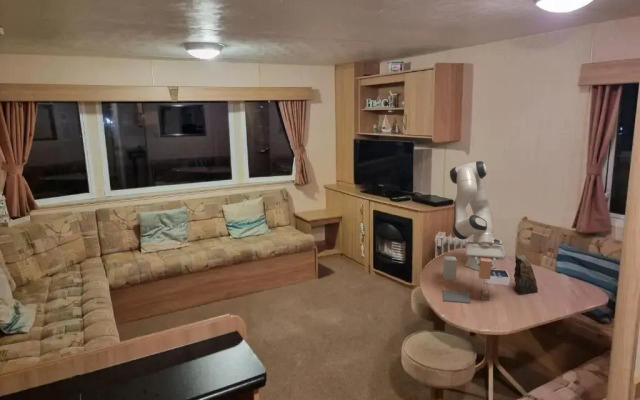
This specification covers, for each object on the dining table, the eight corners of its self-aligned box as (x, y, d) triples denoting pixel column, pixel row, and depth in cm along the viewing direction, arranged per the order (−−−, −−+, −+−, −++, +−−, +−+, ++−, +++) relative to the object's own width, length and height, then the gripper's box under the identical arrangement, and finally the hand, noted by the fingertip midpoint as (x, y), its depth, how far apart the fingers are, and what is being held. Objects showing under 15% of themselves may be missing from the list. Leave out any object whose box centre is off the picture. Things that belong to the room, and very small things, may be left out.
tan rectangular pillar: (478, 274, 238) (480, 257, 236) (489, 275, 236) (490, 258, 234) (479, 278, 233) (481, 260, 231) (490, 279, 231) (491, 261, 229)
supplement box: (456, 280, 264) (457, 260, 261) (443, 279, 265) (444, 260, 263) (455, 275, 271) (455, 256, 268) (442, 275, 273) (443, 256, 270)
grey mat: (443, 290, 250) (443, 289, 249) (468, 292, 246) (468, 291, 246) (443, 301, 236) (443, 300, 236) (470, 303, 233) (470, 302, 233)
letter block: (480, 297, 240) (480, 290, 239) (488, 298, 239) (488, 291, 238) (481, 300, 236) (481, 293, 235) (489, 301, 235) (489, 294, 234)
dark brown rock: (519, 295, 240) (522, 261, 236) (504, 286, 252) (506, 254, 248) (538, 292, 243) (541, 259, 239) (523, 284, 255) (525, 251, 251)
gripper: (465, 238, 241) (465, 261, 234) (505, 241, 235) (506, 264, 228) (464, 244, 246) (464, 266, 239) (503, 246, 240) (504, 269, 233)
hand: (485, 265), depth 234 cm, fingers closed on tan rectangular pillar, 5 cm apart
